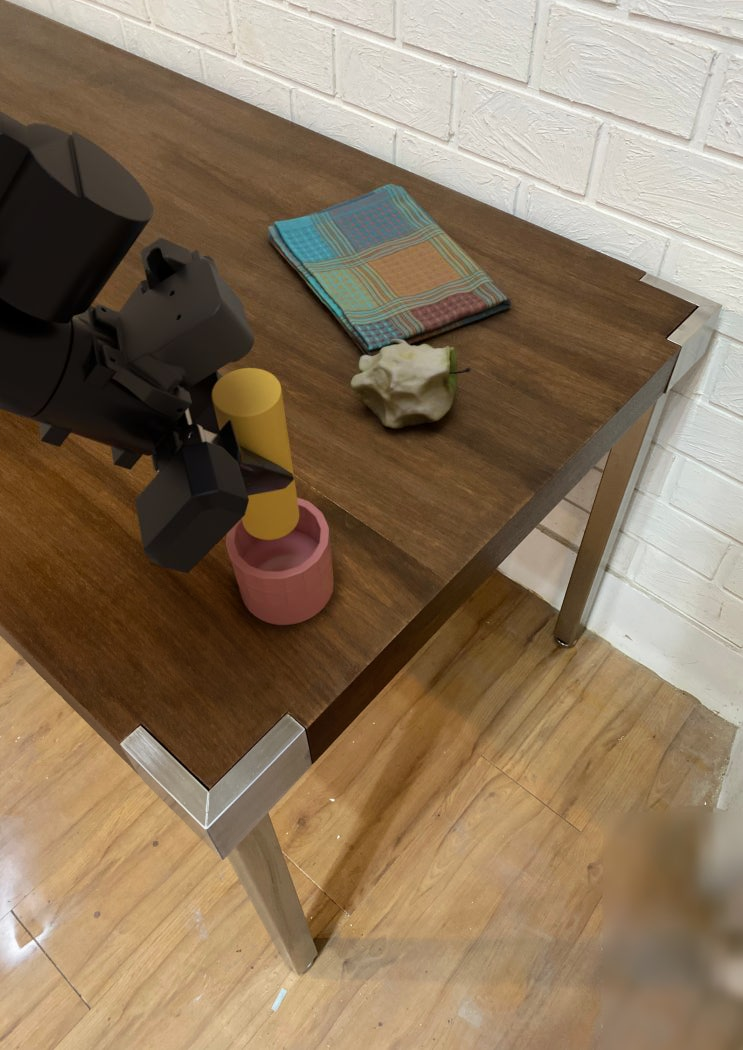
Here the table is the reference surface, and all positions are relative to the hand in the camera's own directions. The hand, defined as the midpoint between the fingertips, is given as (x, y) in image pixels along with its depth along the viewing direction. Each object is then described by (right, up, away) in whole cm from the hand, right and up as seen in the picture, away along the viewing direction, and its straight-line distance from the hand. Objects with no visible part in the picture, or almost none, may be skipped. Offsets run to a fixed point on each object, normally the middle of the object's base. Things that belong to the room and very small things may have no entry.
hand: (281, 457), depth 50 cm
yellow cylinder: (-1, -4, +4) cm, 6 cm away
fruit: (+9, +7, +22) cm, 24 cm away
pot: (-1, -9, +10) cm, 13 cm away
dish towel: (+7, +22, +33) cm, 41 cm away
